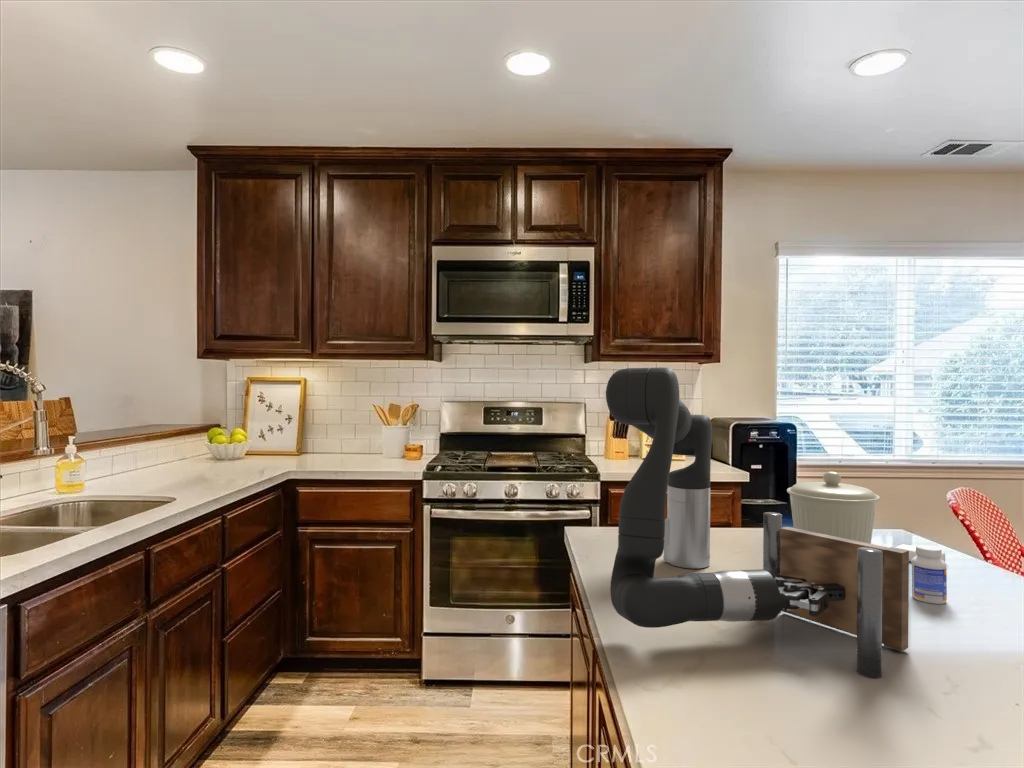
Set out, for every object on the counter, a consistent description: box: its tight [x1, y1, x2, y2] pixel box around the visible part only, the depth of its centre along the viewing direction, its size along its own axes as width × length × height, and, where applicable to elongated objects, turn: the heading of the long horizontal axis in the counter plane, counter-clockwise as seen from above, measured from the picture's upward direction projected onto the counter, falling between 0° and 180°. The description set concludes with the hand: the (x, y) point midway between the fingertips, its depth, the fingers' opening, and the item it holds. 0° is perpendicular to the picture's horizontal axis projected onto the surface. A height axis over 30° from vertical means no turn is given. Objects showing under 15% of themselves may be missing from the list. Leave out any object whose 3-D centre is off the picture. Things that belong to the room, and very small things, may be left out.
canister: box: [786, 471, 881, 544], centre depth 131 cm, size 18×18×21 cm
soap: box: [894, 543, 946, 563], centre depth 137 cm, size 9×6×3 cm, turn 40°
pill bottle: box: [911, 544, 948, 605], centre depth 112 cm, size 5×5×10 cm
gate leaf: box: [780, 526, 910, 652], centre depth 97 cm, size 19×2×15 cm, turn 36°
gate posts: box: [762, 511, 883, 679], centre depth 94 cm, size 26×3×17 cm, turn 8°
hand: (841, 591), depth 95 cm, fingers closed
